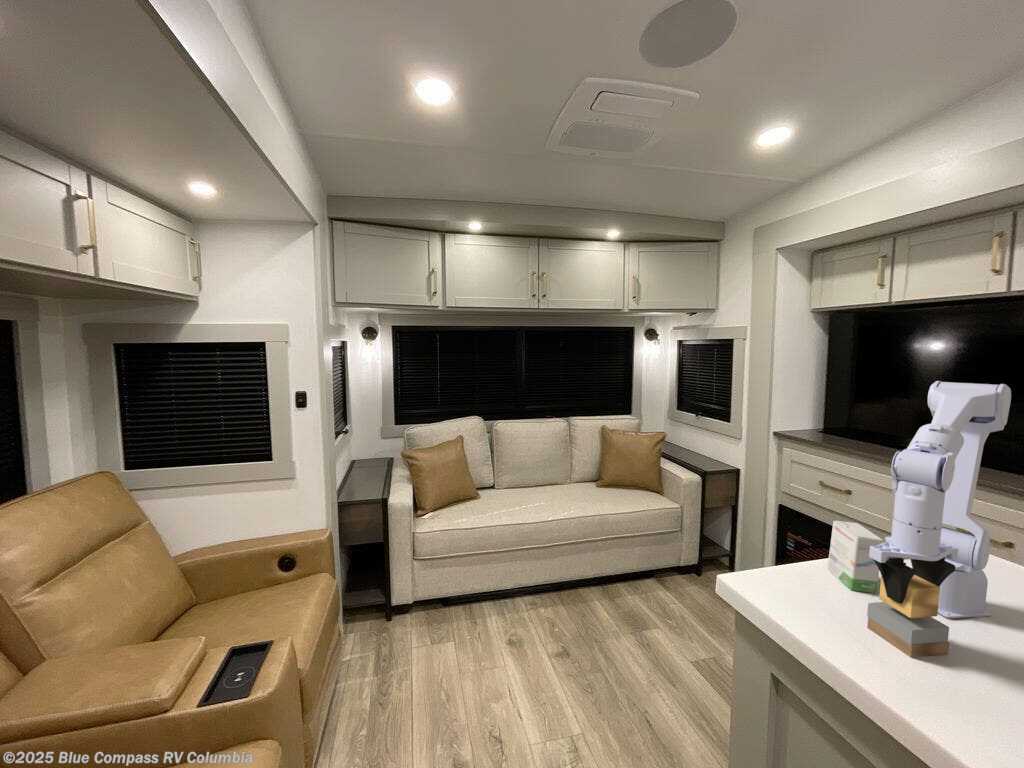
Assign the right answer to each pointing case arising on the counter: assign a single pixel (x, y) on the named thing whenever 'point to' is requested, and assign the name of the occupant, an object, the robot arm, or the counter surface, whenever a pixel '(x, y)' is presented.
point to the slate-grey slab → (908, 625)
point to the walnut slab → (905, 647)
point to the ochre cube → (915, 598)
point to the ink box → (853, 556)
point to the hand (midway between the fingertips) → (908, 599)
